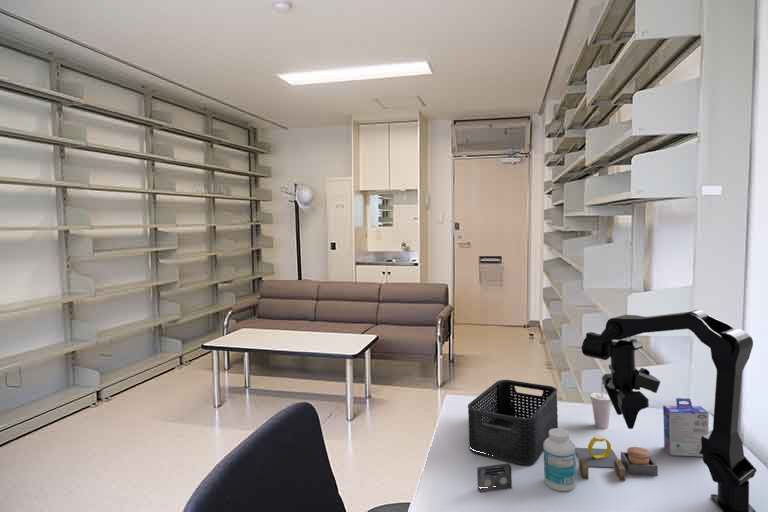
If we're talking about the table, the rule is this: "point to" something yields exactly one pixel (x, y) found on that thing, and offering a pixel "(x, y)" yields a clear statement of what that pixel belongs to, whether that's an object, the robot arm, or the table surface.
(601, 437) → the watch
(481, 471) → the mini dv tape
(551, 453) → the pill bottle
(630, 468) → the grey square tray
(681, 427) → the ink cartridge box
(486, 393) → the storage bin
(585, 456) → the slate mat
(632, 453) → the tan domed cylinder
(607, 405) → the smoothie
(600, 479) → the table surface
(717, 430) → the robot arm
